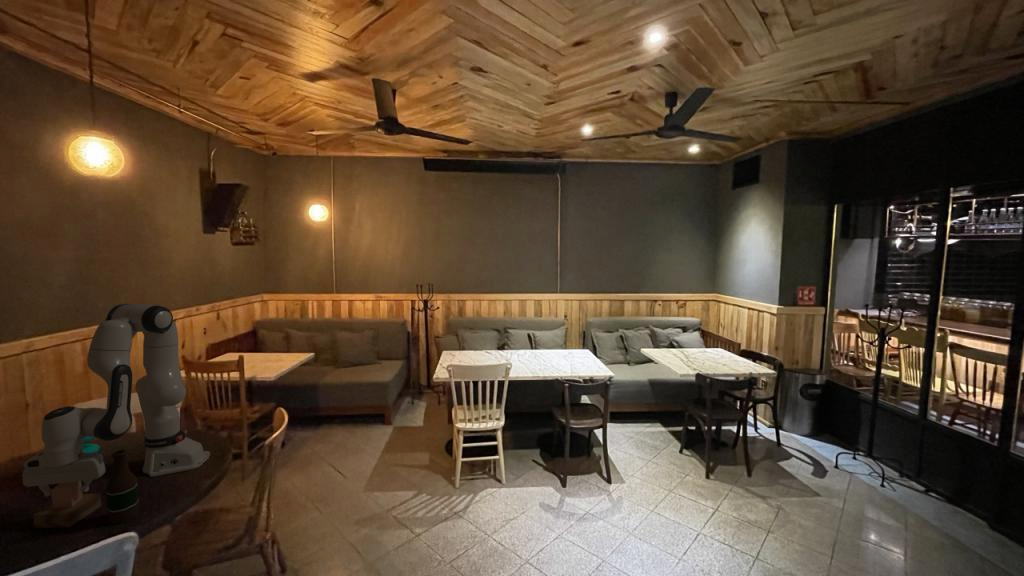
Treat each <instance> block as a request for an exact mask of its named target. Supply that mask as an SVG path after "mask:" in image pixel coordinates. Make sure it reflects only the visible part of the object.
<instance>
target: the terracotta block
mask: <svg viewBox="0 0 1024 576" xmlns="http://www.w3.org/2000/svg"><path fill="white" fill-rule="evenodd" d="M82 486H83V485H82V481H76V482H68V483H59V484H56V486H54V487H53V488H51V489H52V490H51V495H52V496H51V502H52V503H51V504H53V509H60V508H67V507H72V506H74V505H75V504H76V503H77V502H78V501H80V500H81V499H82V498H83V495H82V494H83V492H80V491H81V490H80V488H81V487H82Z"/></svg>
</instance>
